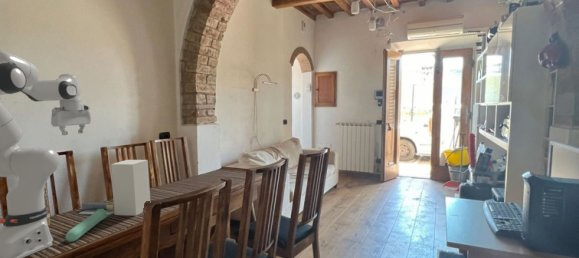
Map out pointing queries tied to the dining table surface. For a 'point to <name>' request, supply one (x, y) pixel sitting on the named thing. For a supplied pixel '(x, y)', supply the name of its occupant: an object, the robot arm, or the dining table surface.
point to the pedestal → (130, 186)
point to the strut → (98, 206)
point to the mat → (90, 212)
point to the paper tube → (47, 203)
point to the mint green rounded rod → (86, 225)
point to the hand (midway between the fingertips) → (73, 134)
